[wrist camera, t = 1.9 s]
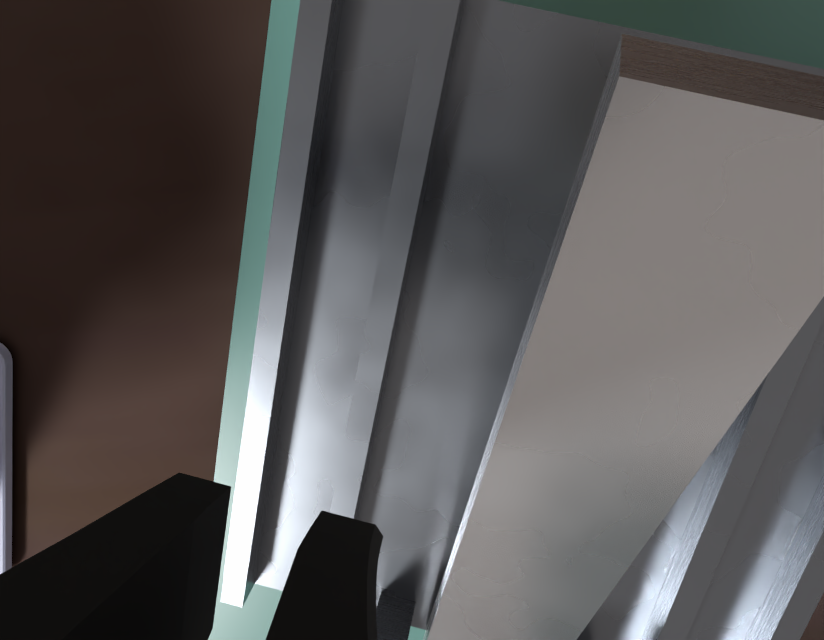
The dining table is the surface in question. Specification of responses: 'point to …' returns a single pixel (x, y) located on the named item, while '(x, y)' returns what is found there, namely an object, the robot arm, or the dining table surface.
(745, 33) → the circuit board
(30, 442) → the dining table surface
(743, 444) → the heat sink
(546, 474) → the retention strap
